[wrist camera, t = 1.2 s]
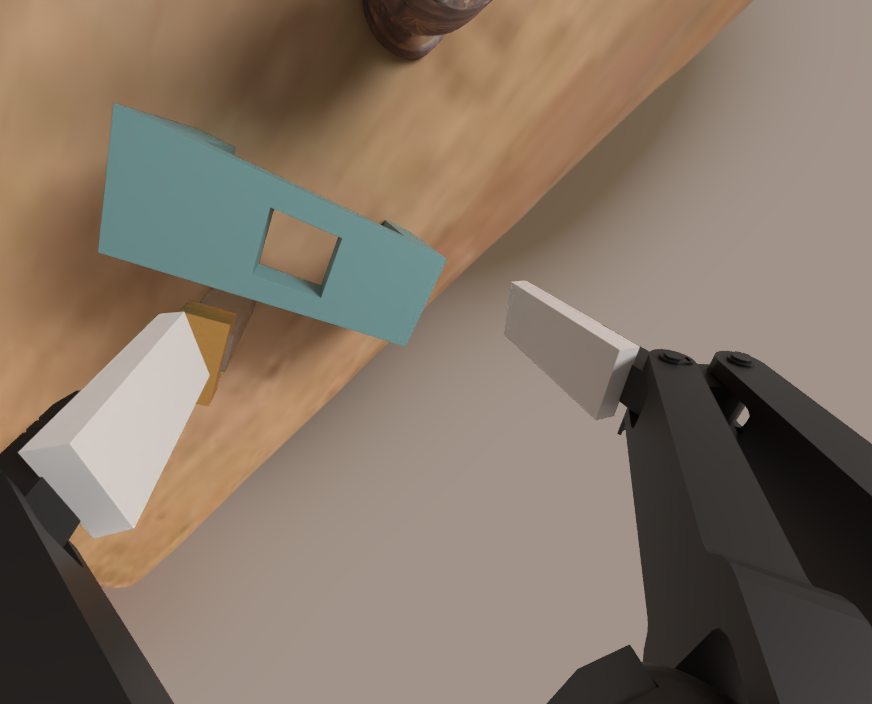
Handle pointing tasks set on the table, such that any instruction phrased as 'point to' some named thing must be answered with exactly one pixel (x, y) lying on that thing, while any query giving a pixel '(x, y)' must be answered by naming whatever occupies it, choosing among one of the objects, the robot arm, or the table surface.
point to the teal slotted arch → (252, 230)
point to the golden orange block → (217, 332)
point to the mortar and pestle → (417, 22)
